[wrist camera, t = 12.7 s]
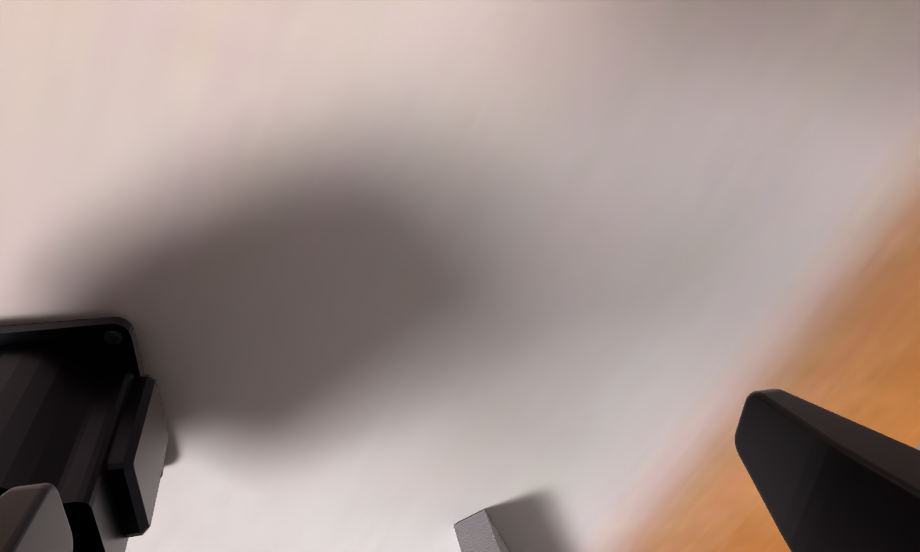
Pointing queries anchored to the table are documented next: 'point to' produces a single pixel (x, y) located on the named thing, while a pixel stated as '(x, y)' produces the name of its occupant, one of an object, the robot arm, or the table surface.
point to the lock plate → (479, 535)
